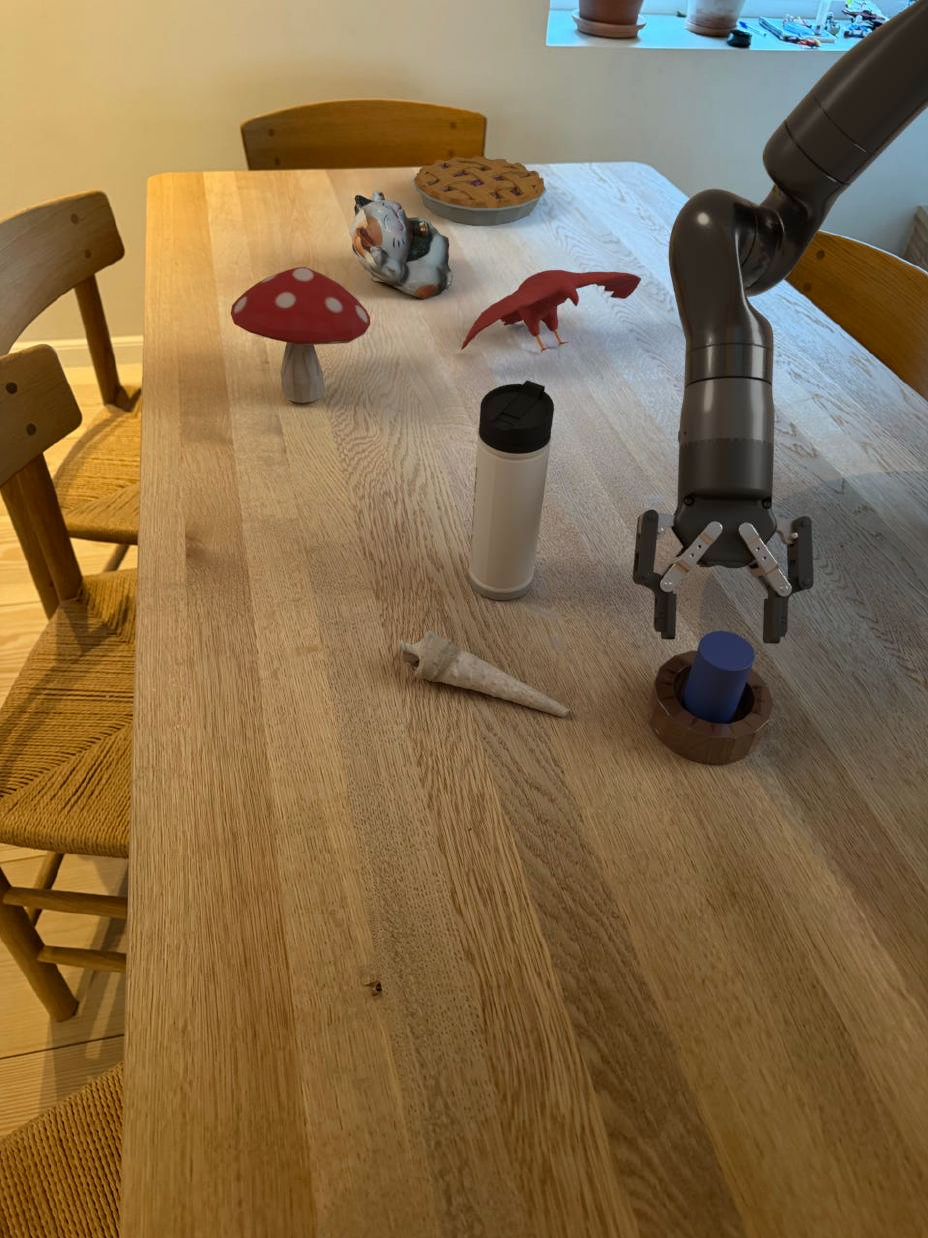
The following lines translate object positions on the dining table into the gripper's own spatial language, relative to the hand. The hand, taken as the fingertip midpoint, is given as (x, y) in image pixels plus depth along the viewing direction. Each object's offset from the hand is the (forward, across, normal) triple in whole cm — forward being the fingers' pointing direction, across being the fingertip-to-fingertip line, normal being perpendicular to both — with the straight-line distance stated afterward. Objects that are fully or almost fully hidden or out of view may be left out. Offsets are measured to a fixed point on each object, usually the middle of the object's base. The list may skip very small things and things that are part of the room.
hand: (719, 641), depth 78 cm
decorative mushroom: (-29, -40, +39) cm, 63 cm away
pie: (-73, -19, +84) cm, 113 cm away
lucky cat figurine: (-51, -30, +61) cm, 85 cm away
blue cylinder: (+6, 0, +3) cm, 7 cm away
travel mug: (-5, -17, +16) cm, 24 cm away
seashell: (+5, -19, +6) cm, 20 cm away
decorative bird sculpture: (-39, -11, +50) cm, 64 cm away
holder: (+7, 0, +4) cm, 8 cm away
